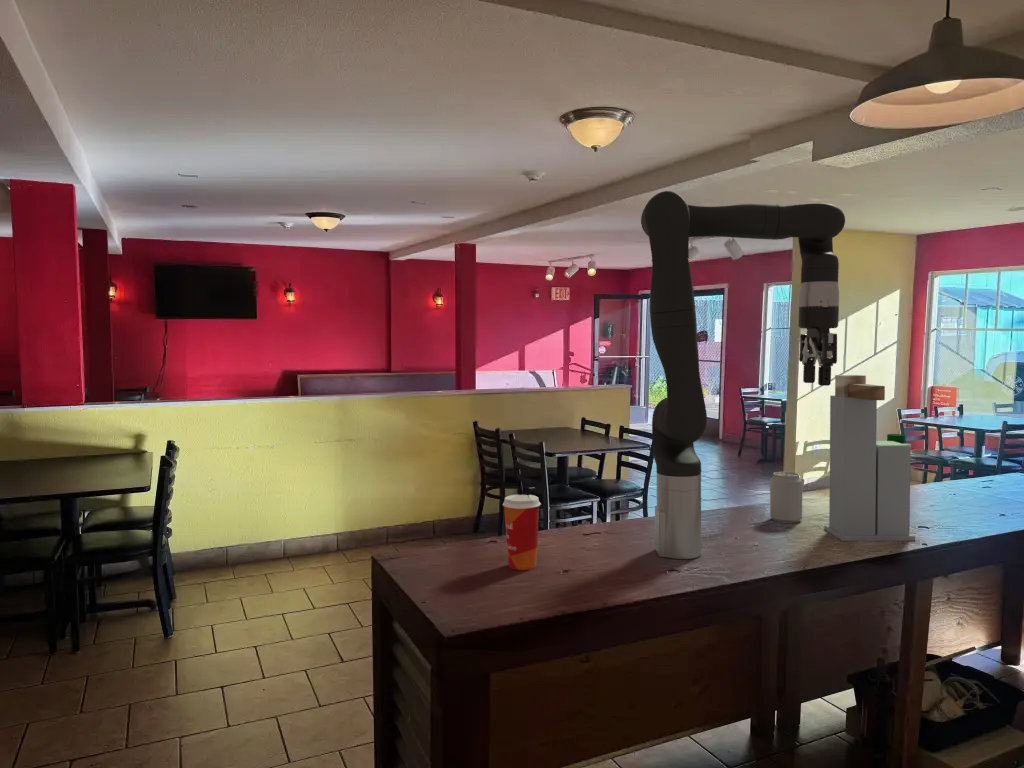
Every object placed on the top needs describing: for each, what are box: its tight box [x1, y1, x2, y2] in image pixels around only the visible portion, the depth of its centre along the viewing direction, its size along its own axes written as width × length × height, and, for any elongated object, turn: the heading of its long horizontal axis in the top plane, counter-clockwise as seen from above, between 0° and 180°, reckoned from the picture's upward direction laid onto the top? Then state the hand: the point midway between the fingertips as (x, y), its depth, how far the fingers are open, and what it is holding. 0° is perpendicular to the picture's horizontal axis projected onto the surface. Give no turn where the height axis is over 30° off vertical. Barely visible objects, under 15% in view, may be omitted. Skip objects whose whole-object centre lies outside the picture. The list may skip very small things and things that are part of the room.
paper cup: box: [502, 494, 542, 571], centre depth 143 cm, size 8×8×14 cm
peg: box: [834, 374, 886, 401], centre depth 158 cm, size 5×16×5 cm, turn 177°
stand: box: [824, 395, 916, 542], centre depth 162 cm, size 16×10×32 cm, turn 87°
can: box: [769, 471, 803, 524], centre depth 178 cm, size 8×8×12 cm
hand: (816, 384), depth 146 cm, fingers open, 8 cm apart
